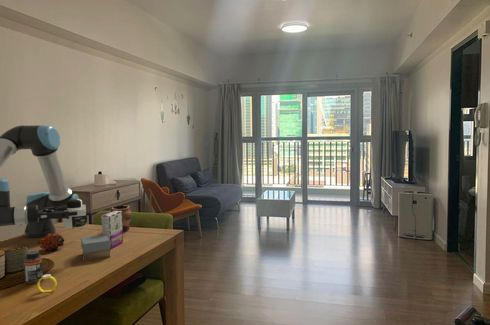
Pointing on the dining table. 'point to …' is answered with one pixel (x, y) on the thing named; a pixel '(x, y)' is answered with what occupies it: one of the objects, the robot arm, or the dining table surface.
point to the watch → (46, 278)
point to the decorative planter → (124, 215)
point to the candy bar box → (113, 227)
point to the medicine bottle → (76, 220)
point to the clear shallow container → (96, 255)
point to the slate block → (95, 243)
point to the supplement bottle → (33, 267)
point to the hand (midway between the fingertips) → (85, 209)
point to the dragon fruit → (51, 241)
